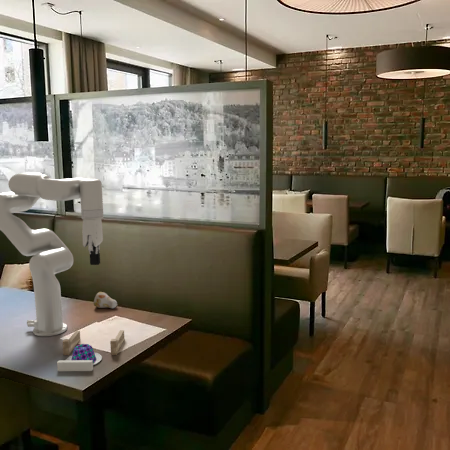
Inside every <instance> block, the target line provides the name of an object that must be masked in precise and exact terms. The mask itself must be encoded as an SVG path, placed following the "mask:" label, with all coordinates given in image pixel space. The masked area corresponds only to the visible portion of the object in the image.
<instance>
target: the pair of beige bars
mask: <svg viewBox="0 0 450 450" xmlns="http://www.w3.org/2000/svg"><path fill="white" fill-rule="evenodd" d="M80 341H81V330H75V331H74V332H73V334H72V335H70V337H69V338H64V339H63V341H62V342H61V343H62V354H63V356H71V354H72V352H73V349H74V348H75V347H76V346H77V345H78V344H79V342H80ZM124 341H125V330H119V331H118V333H117V335H116V336H115V338H111V339H110V341H109V343H110V355H111V356H117V355H118V354H117V353H119V350H120V349H121V346H122V345H123V342H124Z"/></svg>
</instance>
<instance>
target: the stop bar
mask: <svg viewBox="0 0 450 450" xmlns="http://www.w3.org/2000/svg"><path fill="white" fill-rule="evenodd" d="M56 363H57V364H56V365H57V372H93V370H94V365H93V360H66V359H65V360H61V359H60V360H58V361H57V362H56Z"/></svg>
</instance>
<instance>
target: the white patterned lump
mask: <svg viewBox="0 0 450 450" xmlns="http://www.w3.org/2000/svg"><path fill="white" fill-rule="evenodd" d="M93 306H94V307H96V308H99V309H105V308H108V309H109V308H110V309H115V308H116V307H118V302H117V300H116V299H113V298H111V297H110V296H109V295H108V293H106V292H104V291H103V292H102V291H99V292H97V293H96V294H95V297H94V300H93Z"/></svg>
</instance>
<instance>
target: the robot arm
mask: <svg viewBox="0 0 450 450" xmlns="http://www.w3.org/2000/svg"><path fill="white" fill-rule="evenodd" d="M102 184H103V183H102V180H100V179H97V178H84V177H73V178H61V179H59V178H58V179H53V178H51V177H50V176H49V175H46V174H42V173H41V172H37V171H36V172H35V171H33V172H20V173H16V174H14V175H12V176H11V177H10V178H9V180H8V184H7V185H8V188H9V190H10V191H7V192H6V191H5V192H0V231H1V232H2V233H3V234H4V235H5V236H6V238H7V239H8V240H9V241H10V242H11V244H12V245H13V246H14V247H15V249H17V250H18V252H19V253H20V254H21V255H22V256H24V257H25V256H26V257H31V256H32V257H31V258H30V259H29V262H28V266H29V267H28V268H29V271H30V273H31V274H30V275H31V279H32V283H33V284H32V285H33V291H34V292H33V293H34V304H35V317H36V319H35V320H33V319H28V320H27V321H26V325H27V328H28V327H29V328H31V327H33V330H32V334H34V335H35V336H38V337H51V336H53V337H54V336H57V335H60V334H63V333H64V332H66V331H67V330H68V324H66V323H64V321H63V309H62V307H63V306H62V295H61V294H62V293H61V292H62V291H61V285H60V281H59V280H58V278H57V277H56V275H57V274H60V273H61V272H65V271H67V270H69V269H71V267H72V266H73V265H74V255H73V253H72V252H71V250H70V249H69V247H68V246H67V245H66V244H65V243H64V241H62V240H61V238H60V237H59V236H58V235H57V234H56V233H55V232H54V231H53V230H52V229H48V228H38V229H32V228H31V227H30V226H28V225H27V223H26V222H25V221H24V220H22V219H21V218H20V217H19V216H18V217H17V216H16V215H14V213H15V214H16V213H21V212H26V211H28V210H30V209H32V207H33V206H34V205H35V204H36V203H37V202H38V200H40V198H41V199H43V200H45V201H46V200H47V201H54V202H55V201H56V202H66V201H71V200H72V201H73V200H78V199H80V213H81V214H80V215H81V219H82V247H84V248H86V247H87V246H88V249H87V250H88V252H89V264H90V266H99V265H100V264H101V253H100V252H101V251H100V250H101V249H100V247H101V246H100V245H101V244H102V243H103V242H104V234H103V233H104V232H103V223H102V219H104V217H105V216H104V203H103V202H104V201H103V200H104V199H103V186H102Z"/></svg>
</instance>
